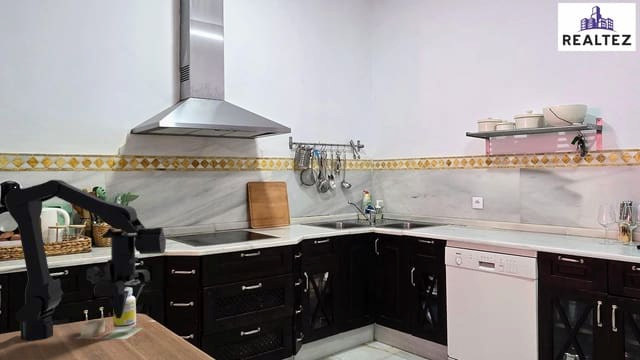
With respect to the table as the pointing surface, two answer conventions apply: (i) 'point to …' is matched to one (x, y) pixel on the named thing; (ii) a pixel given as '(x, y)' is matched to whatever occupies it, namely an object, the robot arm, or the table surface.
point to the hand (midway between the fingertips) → (124, 314)
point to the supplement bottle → (127, 313)
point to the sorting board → (115, 333)
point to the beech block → (92, 328)
